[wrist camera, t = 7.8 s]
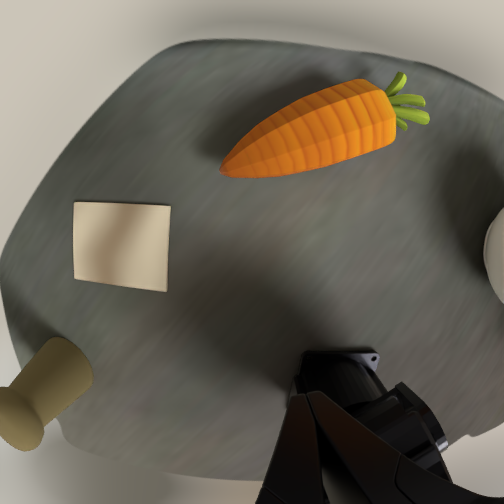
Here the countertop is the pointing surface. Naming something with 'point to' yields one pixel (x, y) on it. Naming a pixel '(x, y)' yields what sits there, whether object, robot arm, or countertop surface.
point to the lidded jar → (495, 254)
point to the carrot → (324, 129)
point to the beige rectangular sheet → (122, 244)
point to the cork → (42, 392)
